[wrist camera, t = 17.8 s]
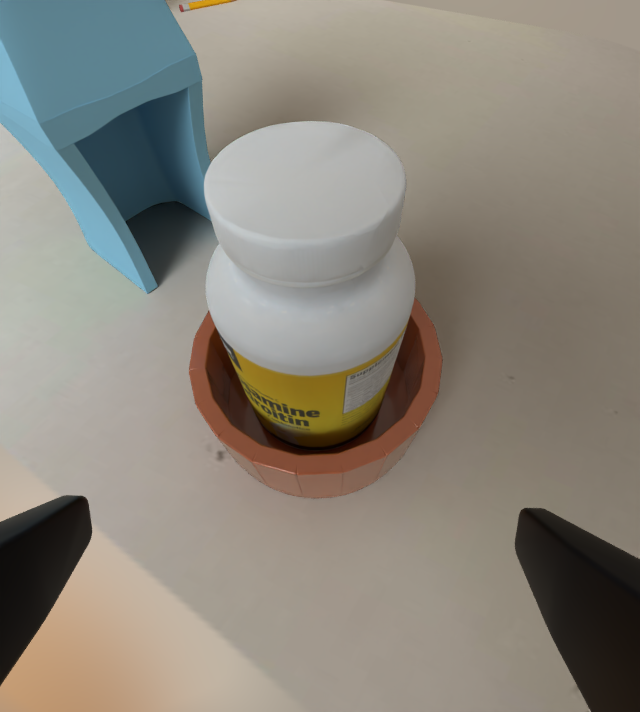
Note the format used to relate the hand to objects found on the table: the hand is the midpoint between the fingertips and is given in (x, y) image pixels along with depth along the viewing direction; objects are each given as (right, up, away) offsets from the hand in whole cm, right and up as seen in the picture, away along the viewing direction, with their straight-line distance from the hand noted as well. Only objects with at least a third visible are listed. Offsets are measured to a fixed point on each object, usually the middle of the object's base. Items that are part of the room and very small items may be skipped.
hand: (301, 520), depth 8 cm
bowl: (0, +1, +11) cm, 11 cm away
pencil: (-14, +50, +41) cm, 66 cm away
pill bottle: (0, +2, +11) cm, 11 cm away
